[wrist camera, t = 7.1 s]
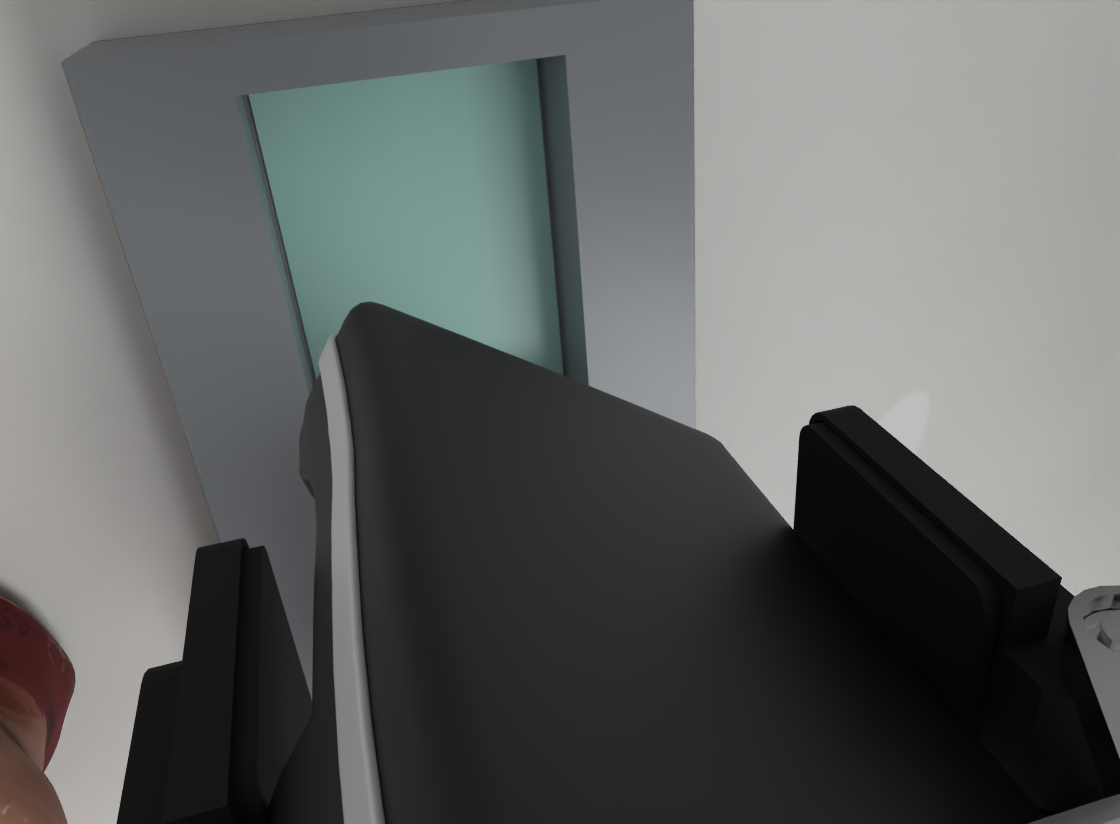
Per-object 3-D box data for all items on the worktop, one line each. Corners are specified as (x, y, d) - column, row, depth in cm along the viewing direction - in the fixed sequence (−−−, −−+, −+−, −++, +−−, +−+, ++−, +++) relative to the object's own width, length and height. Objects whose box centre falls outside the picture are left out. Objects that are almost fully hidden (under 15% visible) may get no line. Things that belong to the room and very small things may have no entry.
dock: (639, -19, 23) (956, 32, 12) (660, 631, 34) (836, 962, 23) (93, 41, 20) (-115, 173, 10) (305, 723, 31) (318, 1141, 20)
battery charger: (236, 499, 13) (133, 1998, 4) (338, 275, 12) (566, 1604, 3) (618, 604, 16) (1103, 1578, 7) (729, 433, 15) (1502, 1312, 6)
